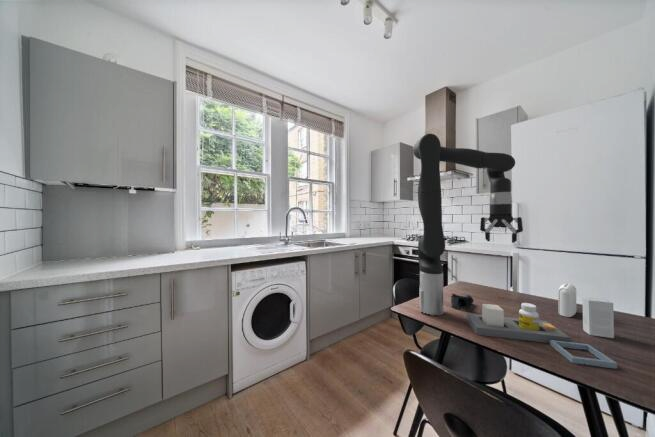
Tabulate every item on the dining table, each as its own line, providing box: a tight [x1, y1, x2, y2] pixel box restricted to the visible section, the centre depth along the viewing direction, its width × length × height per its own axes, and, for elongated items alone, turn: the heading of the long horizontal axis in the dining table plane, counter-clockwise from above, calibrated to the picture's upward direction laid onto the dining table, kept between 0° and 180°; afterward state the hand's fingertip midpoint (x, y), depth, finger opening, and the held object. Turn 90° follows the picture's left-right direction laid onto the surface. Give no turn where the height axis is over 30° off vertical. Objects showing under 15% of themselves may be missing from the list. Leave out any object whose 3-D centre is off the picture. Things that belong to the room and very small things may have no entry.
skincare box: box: [581, 296, 615, 339], centre depth 80 cm, size 6×4×12 cm
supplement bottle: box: [518, 302, 540, 331], centre depth 82 cm, size 5×5×10 cm
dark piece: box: [450, 293, 475, 313], centre depth 106 cm, size 9×8×12 cm
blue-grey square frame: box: [549, 340, 618, 370], centre depth 68 cm, size 10×10×2 cm
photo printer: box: [557, 283, 577, 318], centre depth 97 cm, size 10×4×12 cm, turn 123°
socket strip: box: [465, 303, 571, 344], centre depth 83 cm, size 26×12×8 cm, turn 74°
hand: (500, 241), depth 98 cm, fingers open, 8 cm apart
